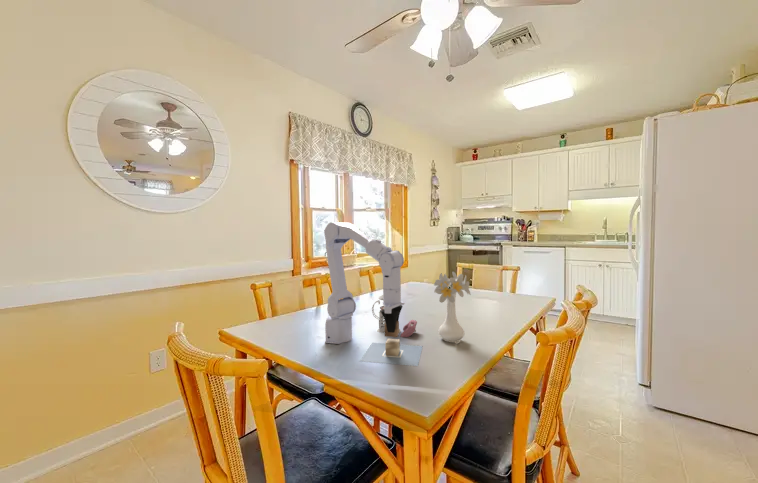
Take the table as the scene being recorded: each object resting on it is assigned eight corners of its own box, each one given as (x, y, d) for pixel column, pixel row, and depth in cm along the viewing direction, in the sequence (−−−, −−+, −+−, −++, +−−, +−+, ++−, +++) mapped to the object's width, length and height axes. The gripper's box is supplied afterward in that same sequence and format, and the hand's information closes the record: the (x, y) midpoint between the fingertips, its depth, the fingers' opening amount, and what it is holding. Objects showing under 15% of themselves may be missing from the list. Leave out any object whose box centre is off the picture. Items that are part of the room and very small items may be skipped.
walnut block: (384, 336, 100) (384, 323, 100) (387, 332, 104) (387, 320, 104) (397, 337, 99) (396, 324, 99) (399, 333, 103) (398, 321, 103)
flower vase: (432, 350, 105) (431, 277, 105) (435, 332, 123) (435, 270, 122) (472, 353, 102) (471, 277, 101) (470, 334, 120) (469, 270, 119)
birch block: (385, 355, 100) (385, 342, 100) (388, 350, 104) (387, 338, 104) (397, 356, 99) (397, 343, 99) (399, 351, 103) (399, 339, 103)
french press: (399, 335, 121) (398, 271, 120) (370, 334, 123) (369, 271, 122) (402, 327, 130) (401, 268, 129) (375, 326, 132) (374, 268, 131)
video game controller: (410, 343, 116) (418, 327, 115) (399, 337, 117) (407, 321, 116) (412, 334, 126) (420, 319, 125) (402, 329, 127) (409, 314, 126)
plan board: (359, 363, 96) (359, 360, 96) (372, 344, 111) (372, 342, 111) (417, 368, 92) (417, 365, 92) (422, 348, 107) (422, 345, 107)
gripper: (400, 293, 93) (401, 338, 93) (407, 284, 107) (407, 323, 107) (377, 292, 94) (378, 336, 95) (387, 284, 109) (387, 322, 109)
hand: (392, 329), depth 101 cm, fingers closed on walnut block, 4 cm apart
